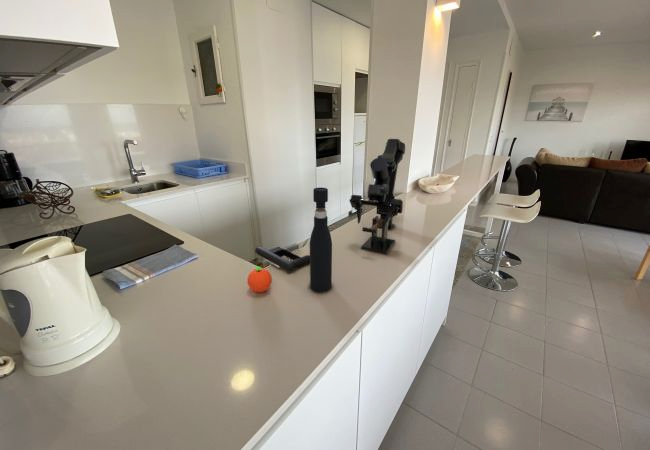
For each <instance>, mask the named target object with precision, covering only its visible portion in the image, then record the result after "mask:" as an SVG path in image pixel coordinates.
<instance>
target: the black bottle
mask: <svg viewBox="0 0 650 450" xmlns="http://www.w3.org/2000/svg"><path fill="white" fill-rule="evenodd" d="M312 195H313V196H312V197H313V198H312V199H313V202H314V203H315V210H314V217H313V228H312V229H311V230H312V231H311V233H310V238H309V256H310V263H309V280H310V281H309V282H310V283H309V285H310V286H309V287H310V289H311V290H312V291H313V292H316V293H325V292H329V291H330V290H331V289H332V287H333V286H332V279H333V278H332V275H333V241H332V236H331V232H330V229H329V226H328V223H329V222H328V221H329V220H328V218H329V217H328V216H327V215H328V214H327V213H328V211H327V209H326V208H327V207H326V203H328V202H329V189H328V188H327V187H314V188H313V194H312Z"/></svg>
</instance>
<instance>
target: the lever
mask: <svg viewBox="0 0 650 450" xmlns="http://www.w3.org/2000/svg"><path fill="white" fill-rule="evenodd" d="M383 220H384V219H380V218H379V219H378V220H377V223H376V224H375V225H373V226H372V225H371V226H370V227H364V226H363V227H362V229H361V230H362V232H364V233H370V234H372V233H375V234H377V235H378V233H377V230H376V228H377V227H378V228H379V227H382V224H383Z"/></svg>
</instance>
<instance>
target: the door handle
mask: <svg viewBox="0 0 650 450" xmlns="http://www.w3.org/2000/svg"><path fill="white" fill-rule="evenodd" d="M299 246H300V245H299V244H298V243H293V244H290V245H287V246H284V247H280V246H276V247H274V248H270V249H267V248H264V247H262V246H256V247H255V249H254V254H257V255H258V256H260V257H262V258H263V259H264V261H265V262H267V263H269V264H271V265H273V266H275V267H277V268H278V269H280V268H281V269H282V270H285V271H287V272H290V273H291V272H293V271H294V270H296V269H298V268H300V267H302V266H305V265H308V264H310V254H306V255H303V256H299V255H297V254H295V253H293V251H296V250H299V248H300V247H299ZM284 257H286V258H288V259H289V260H288V259H285V258H284Z"/></svg>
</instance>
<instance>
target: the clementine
mask: <svg viewBox="0 0 650 450" xmlns="http://www.w3.org/2000/svg"><path fill="white" fill-rule="evenodd" d="M272 283H273V278H272V274H271V273H270V271H269V270H267V269H266V268H263V267H261V266H255V269H253V270H251V271H250V273H249V274H248V276H247V285H248V287H249V289H251V291H252V292H255V293H263V292H265V291H267V290H268V289H269V288H270V287H271V285H272Z"/></svg>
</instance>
